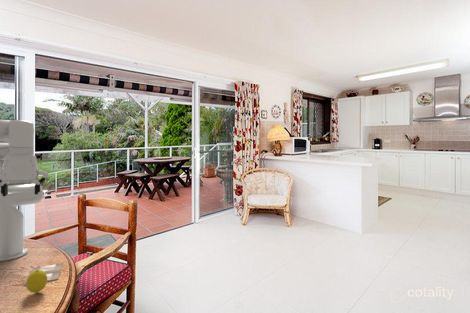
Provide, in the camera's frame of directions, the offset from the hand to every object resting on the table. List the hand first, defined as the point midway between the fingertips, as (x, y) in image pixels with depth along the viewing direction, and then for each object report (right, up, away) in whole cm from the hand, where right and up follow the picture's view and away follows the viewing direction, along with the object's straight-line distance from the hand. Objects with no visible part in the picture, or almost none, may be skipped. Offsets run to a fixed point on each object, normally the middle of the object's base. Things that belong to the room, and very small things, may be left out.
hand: (21, 194), depth 97 cm
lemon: (+17, -32, -14) cm, 39 cm away
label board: (+11, -31, -2) cm, 33 cm away
